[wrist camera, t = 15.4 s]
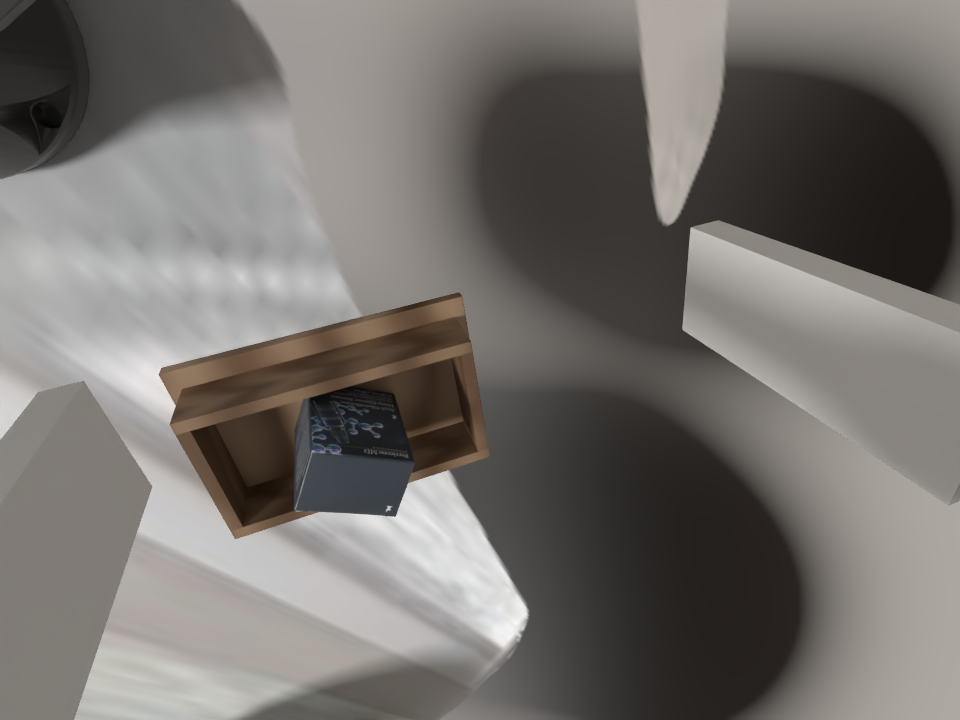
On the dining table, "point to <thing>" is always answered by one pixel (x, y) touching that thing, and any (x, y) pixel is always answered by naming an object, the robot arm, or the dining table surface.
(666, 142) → the dining table surface
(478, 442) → the tray
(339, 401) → the box
